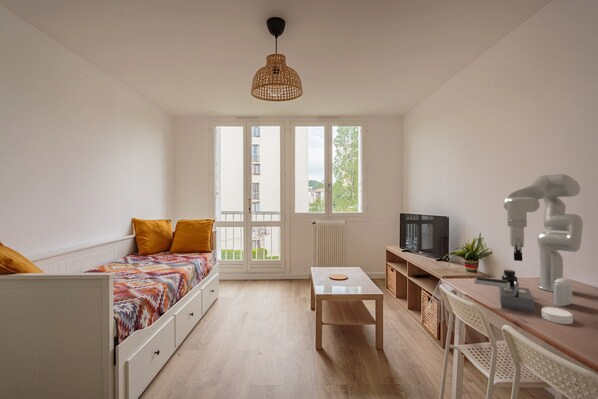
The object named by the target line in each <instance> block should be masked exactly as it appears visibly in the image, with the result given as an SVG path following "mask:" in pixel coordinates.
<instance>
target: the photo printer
mask: <svg viewBox="0 0 598 399" xmlns="http://www.w3.org/2000/svg"><path fill="white" fill-rule="evenodd" d="M571 304H573V283H572V281H571V280H570V279H569V278H565V277H563V278H560V279H557V280H556V281H554V283H553V292H552V305H555V306H556V307H557V306H558V307H566V306H570V305H571Z"/></svg>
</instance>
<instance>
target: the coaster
mask: <svg viewBox="0 0 598 399" xmlns="http://www.w3.org/2000/svg"><path fill="white" fill-rule="evenodd" d="M540 313H541V315H540V316H541V317H542V319H544V320H545V321H549V322H551V323H556V324H560V325H572V324H573V323H574V315H573V313H572V312H570V311H567V310H565V309H562V308H556V307H550V306H546V307H545V306H544V307H542V308H541V312H540Z"/></svg>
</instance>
